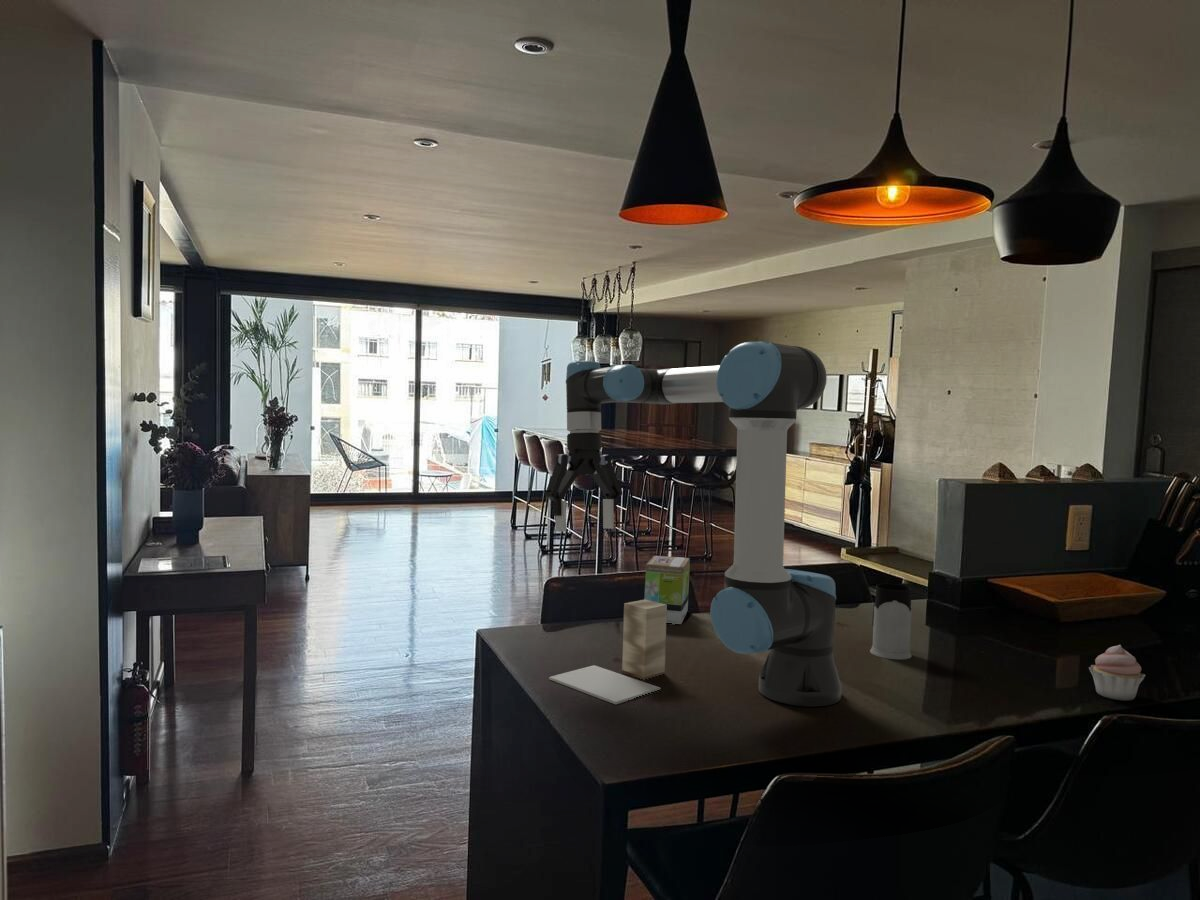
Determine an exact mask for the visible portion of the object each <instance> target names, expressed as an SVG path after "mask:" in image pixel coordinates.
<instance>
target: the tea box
mask: <svg viewBox="0 0 1200 900" xmlns="http://www.w3.org/2000/svg"><path fill="white" fill-rule="evenodd" d="M690 562H691V560H690V557H681V556H680V557H679V556H677V557H676V556H664V555H653V556H652V558H651V559H650V560H648V562H647V563H646V564H645V581H644V596H643V597H644V598H643V600H644V599H645V600H649V601H653V602H657V603H661V604H666V605H667V616H666V623H672V624H671V625H675V624H681V625H682V623H683V621H684V619H685V617H686V615H687V612H688V606H689V591H690V589H689V587H690V586H689V585H690V567H691V563H690Z"/></svg>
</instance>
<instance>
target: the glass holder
mask: <svg viewBox="0 0 1200 900" xmlns="http://www.w3.org/2000/svg"><path fill="white" fill-rule="evenodd" d="M874 601H875V602H874V607H873V626H872V627H873V630H872V645H871V648H870V650H869V652H870V653H871V654H872V655H874V656H876V657H879V658H883V659H889V660H908V659H911V658H912V653H911V632H912V630H911V627H912V611H913V610H912V587H911V586H908V585H904V584H899V583H878V584H876V585H875V599H874Z"/></svg>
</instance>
